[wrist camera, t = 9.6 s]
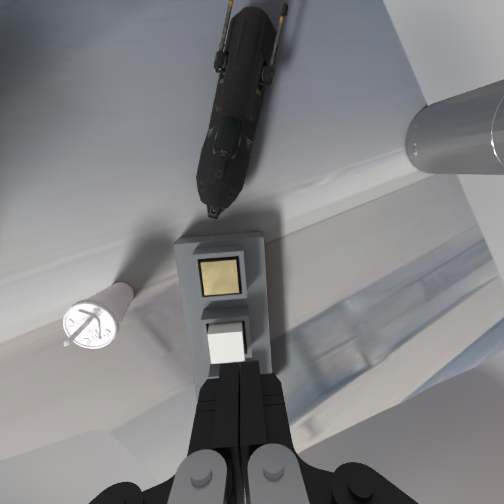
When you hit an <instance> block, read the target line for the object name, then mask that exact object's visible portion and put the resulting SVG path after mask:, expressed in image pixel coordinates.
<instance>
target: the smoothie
mask: <svg viewBox="0 0 504 504" xmlns="http://www.w3.org/2000/svg"><path fill="white" fill-rule="evenodd" d="M133 297H134V292H133V290H132V288H131V287H130V286H129V285H128V284H126V283H123V282H117V283H115V284H113V285H111V286H109V287H108V288H106V289H104V290H102V291H101V292H99V293H97V294H95V295H94V296H92V297H90V298H88V299H85V300H82V301H79V302H77V303H75V304H74V305H73V306H72V307H71V308H70V309H69V310H68V311H67V312H66V314H65V316H64V319H63V326H64V330H65V332H66V334H67V336H68V337H69V338H68V339H67V340H66V341H65V342H64V345H65V346H68V345H69V344H70V343H71V342H72V341H73V342H74V343H76V344H77V345H79V346H82V347H85V348H90V349H97V348H102V347H104V346H106V345H108V344H109V343H110V342H111V341H112V340H113V339H114V338H115V337H116V336H117V334H118V332H119V328H120V323H121V321H122V319H123V317H124V315H125V313H126V311H127V309H128V307H129V305H130V303H131V301H132V299H133Z"/></svg>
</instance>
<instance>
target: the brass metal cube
mask: <svg viewBox="0 0 504 504" xmlns="http://www.w3.org/2000/svg"><path fill="white" fill-rule="evenodd" d="M201 270H202V278H203V286H204V294H205V295H215V294H228V293H239V276H238V265H237V256H231V257H218V258H206V259H202V260H201Z"/></svg>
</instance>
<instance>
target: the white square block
mask: <svg viewBox="0 0 504 504" xmlns="http://www.w3.org/2000/svg"><path fill="white" fill-rule="evenodd" d="M207 336H208V344H209V351H210V359H211V364H217V363H229V362H241V361H245V351H244V337H243V326H242V321H232V322H220V323H209V328H208V333H207Z"/></svg>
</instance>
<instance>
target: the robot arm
mask: <svg viewBox="0 0 504 504" xmlns="http://www.w3.org/2000/svg"><path fill="white" fill-rule="evenodd" d="M406 151H407V155H408V157H409V159H410V161H411V163H412V164H413V165H414V166H415V167H416V168H418V169H419V170H421V171H423V172H426V173H437V174H482V175H504V80H501V81H498V82H495V83H492V84H489V85H486V86H484V87H481V88H478V89H475V90H472V91H469V92H466V93H463V94H460V95H457V96H454V97H451V98H448V99H445V100H442V101H439V102H437V103H434V104H431V105H429V106H427V107H426V108H424V109H423V110H422V111H420V112H419V113H418V114H417V116H416V117H415V118H414V119H413V121H412V123H411V124H410V126H409V129H408V132H407V136H406ZM244 485H245V494H246V504H418V503H417V502H415V501H414V500H413V499H412V498H410V497H409V496H408V495H406V494H405V493H404V492H402V491H401V490H400V489H398V488H397V487H396V486H395V485H393V484H392V483H391V482H389V481H388V480H386V479H385V478H384V477H383V476H382V475H380V474H379V473H378V472H376V471H375V470H373V469H372V468H370V467H368V466H367V465H364V464H361V463H356V462H350V463H346V464H342V465H341V466H339V467H338V468H337V469H336V470H335V472H334V473H333V472H329V471H325V470H321V469H317V468H314V467H312V466H310V465H308V464H307V463H305V462H304V461H303V460H302V459H301V458H300V457H299V456H298V455H297V453H296V452H295V449H294V447H293V444H292V439H291V433H290V428H289V423H288V417H287V412H286V407H285V401H284V396H283V391H282V385H281V382H280V381H279V379H278V378H277V377H276V375H275V374H274V373H269V374H260V368H259V360H256V361H244V362H240V364H239V362H234V363H222V364H220V371H219V378H212V379H207V380H206V381H205V383H204V384H203V386H202V387H201V388H200V391H199V396H198V404H197V407H196V414H195V418H194V423H193V429H192V434H191V439H190V445H189V450H188V455H187V458H185V459H184V460H183V461H182V463H181V464H180V466H179V467H178V469H177V472H176V474H175V475H174V476H173V477H171V478H170V479H169V480H167V481H165V482H163V483H161V484H159V485H157V486H155V487H152V488H150V489H148V490H145V491H143V492H141V489H140V488H139V487H138V486H137V485H136V484H134V483H131V482H121V483H117V484H114V485H112V486H110V487H108V488H107V489H105V490H104V491H102V492H101V493H100V494H99V495H98V496H97V497H96V498H94V499H93V500H92V501H91V502H90V503H89V504H245V503H244Z"/></svg>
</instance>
